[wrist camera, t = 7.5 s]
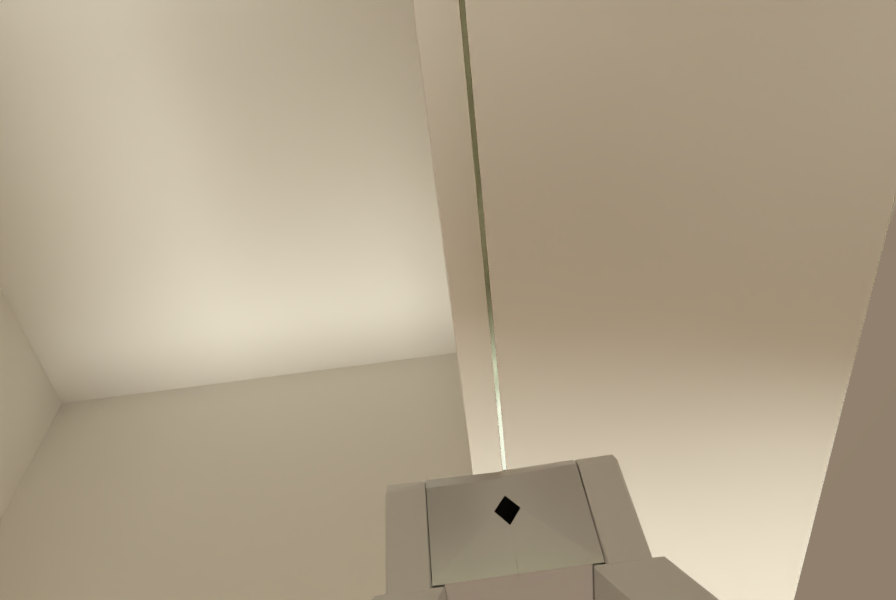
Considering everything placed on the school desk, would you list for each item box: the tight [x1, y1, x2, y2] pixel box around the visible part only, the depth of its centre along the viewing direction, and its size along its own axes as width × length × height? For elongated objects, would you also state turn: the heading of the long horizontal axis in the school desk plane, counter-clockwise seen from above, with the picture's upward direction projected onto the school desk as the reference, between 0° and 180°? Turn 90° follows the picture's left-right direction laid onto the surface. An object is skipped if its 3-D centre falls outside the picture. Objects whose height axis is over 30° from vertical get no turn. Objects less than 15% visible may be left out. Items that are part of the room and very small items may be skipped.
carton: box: [0, 0, 503, 600], centre depth 17 cm, size 17×14×9 cm
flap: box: [465, 0, 896, 600], centre depth 12 cm, size 15×1×6 cm
